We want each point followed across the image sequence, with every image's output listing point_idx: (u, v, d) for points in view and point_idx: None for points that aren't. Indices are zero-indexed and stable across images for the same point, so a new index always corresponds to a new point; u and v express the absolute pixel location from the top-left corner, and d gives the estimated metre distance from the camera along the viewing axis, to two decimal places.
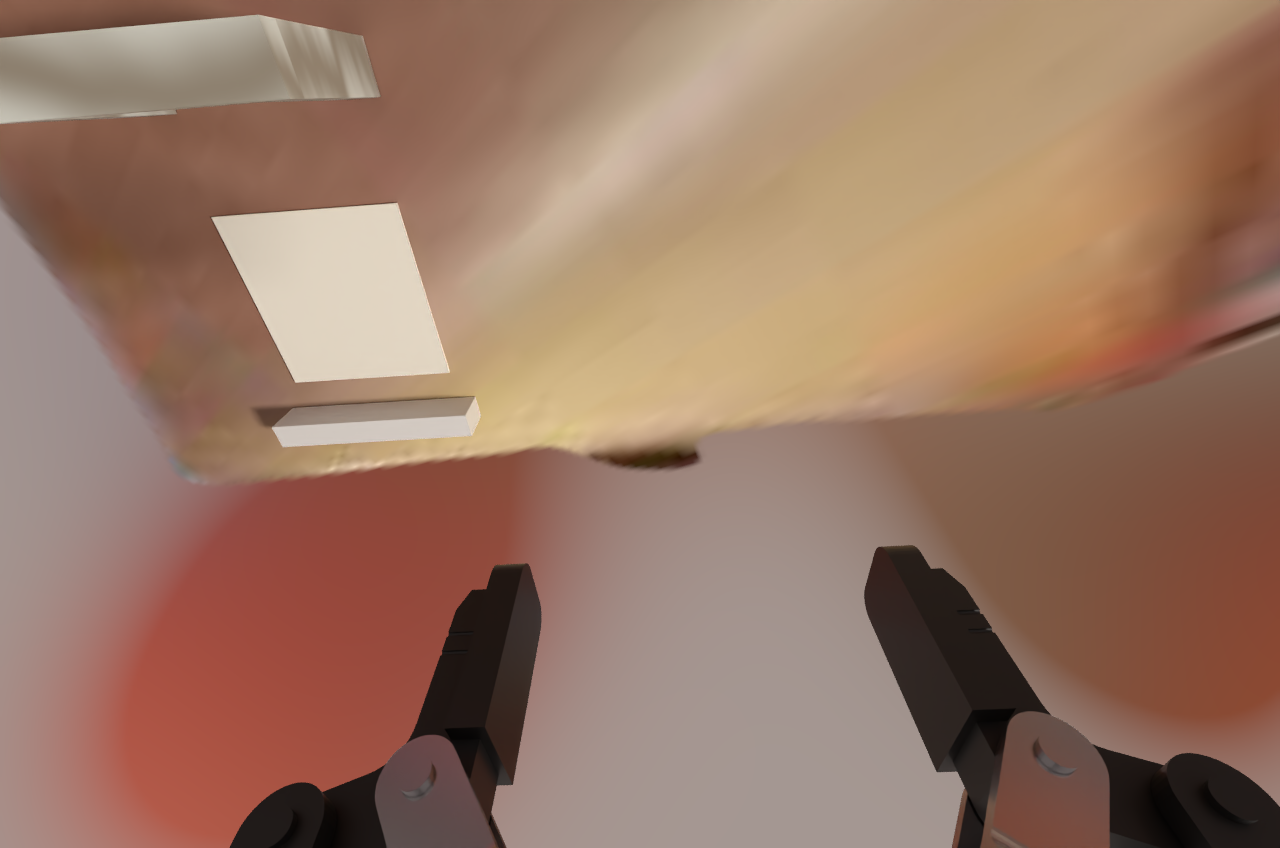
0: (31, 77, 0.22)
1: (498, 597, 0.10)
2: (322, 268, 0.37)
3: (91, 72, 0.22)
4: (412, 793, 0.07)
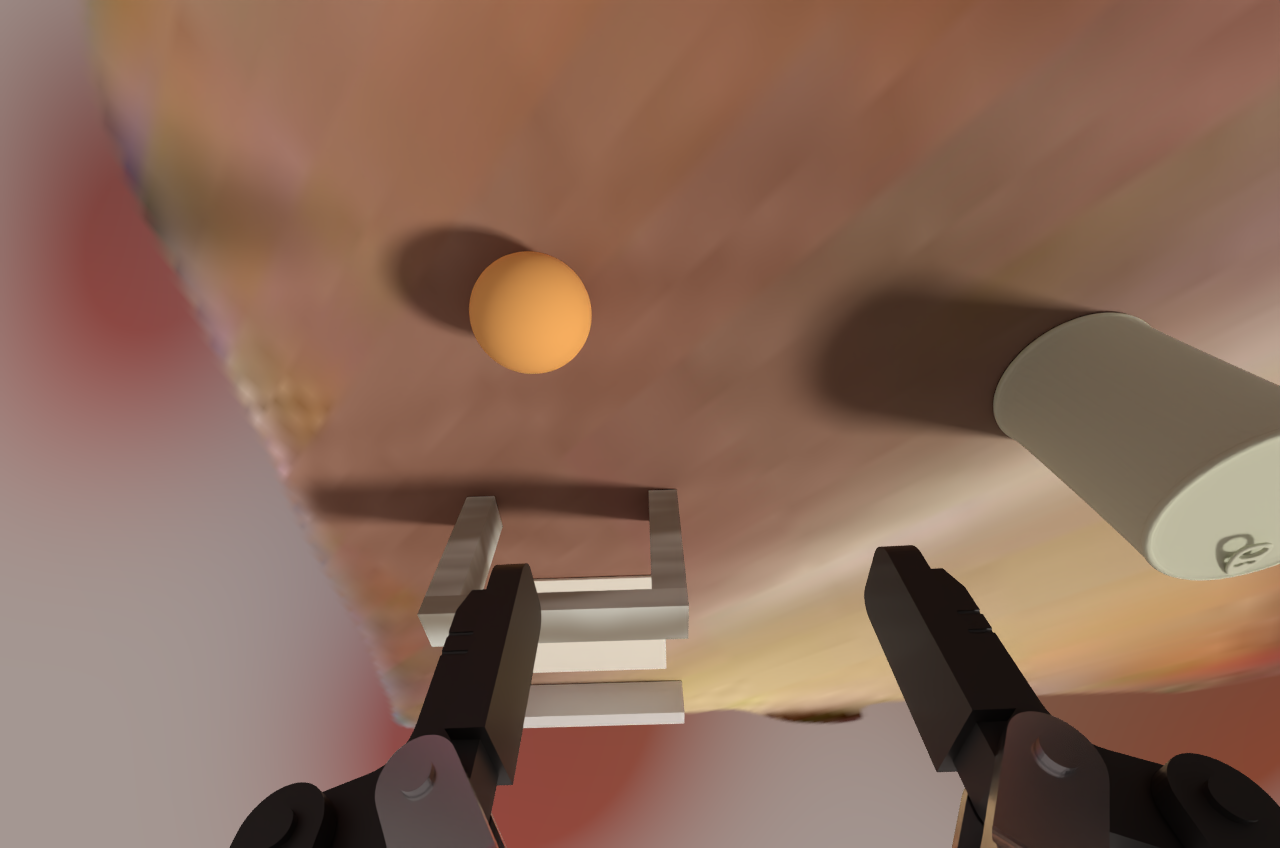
0: None
1: (498, 597, 0.10)
2: None
3: (541, 626, 0.28)
4: (412, 793, 0.07)
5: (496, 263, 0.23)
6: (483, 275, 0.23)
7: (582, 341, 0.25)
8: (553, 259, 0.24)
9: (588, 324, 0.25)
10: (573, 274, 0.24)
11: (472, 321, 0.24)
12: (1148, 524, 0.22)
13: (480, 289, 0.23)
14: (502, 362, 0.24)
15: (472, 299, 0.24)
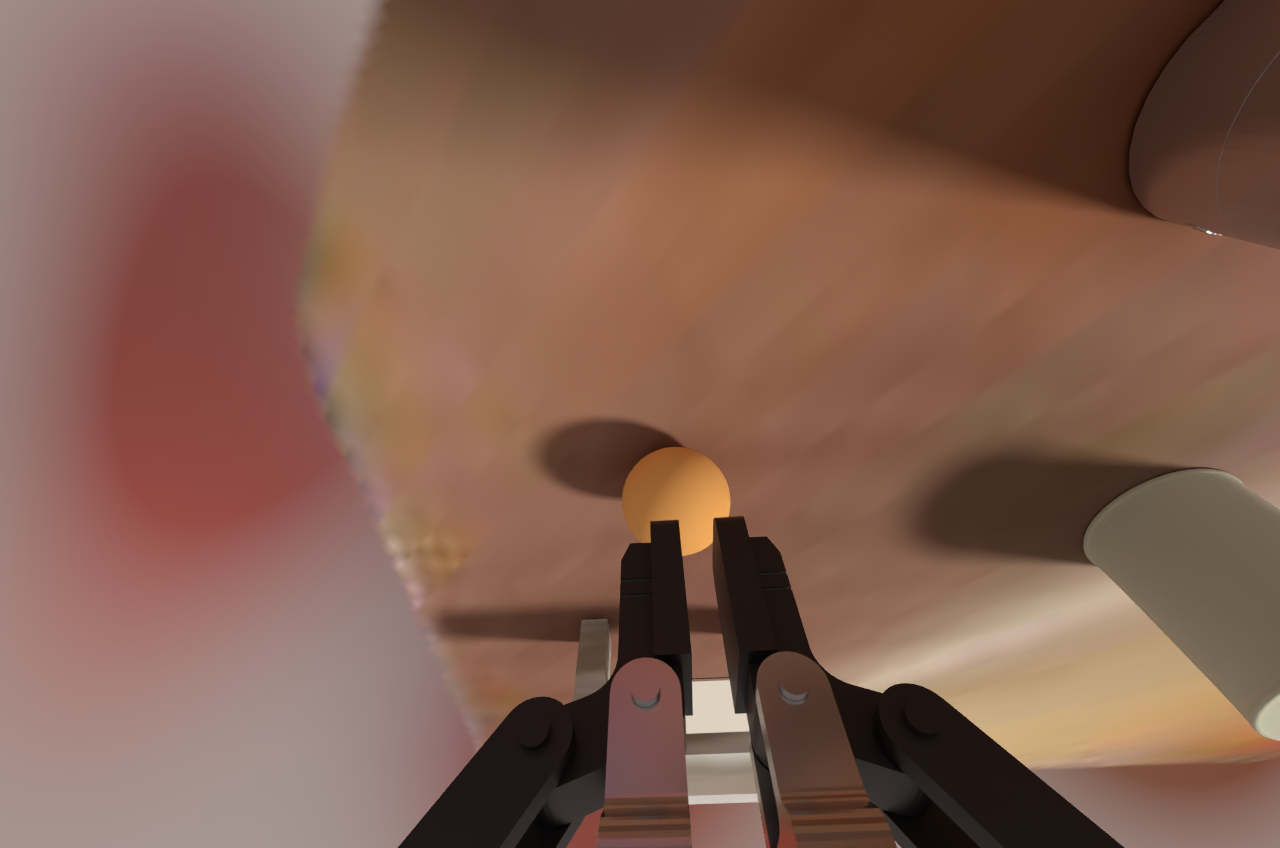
0: None
1: (664, 547, 0.11)
2: None
3: None
4: (647, 705, 0.08)
5: (652, 469, 0.26)
6: (641, 480, 0.26)
7: None
8: (701, 460, 0.27)
9: (729, 511, 0.28)
10: (717, 471, 0.27)
11: (630, 518, 0.27)
12: (1259, 705, 0.24)
13: (641, 496, 0.26)
14: None
15: (631, 501, 0.26)
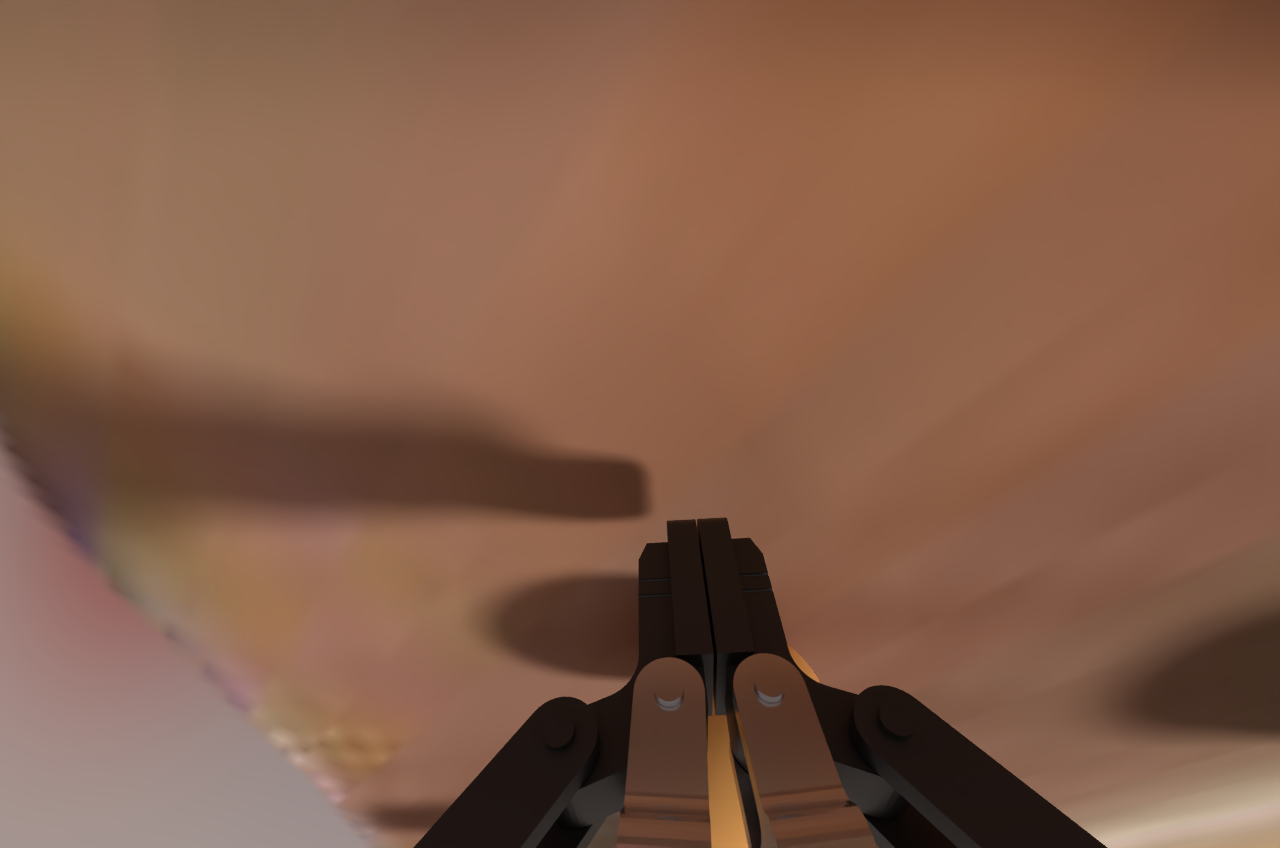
0: None
1: (682, 547, 0.11)
2: None
3: None
4: (672, 706, 0.08)
5: None
6: None
7: None
8: None
9: None
10: None
11: None
12: None
13: None
14: None
15: None
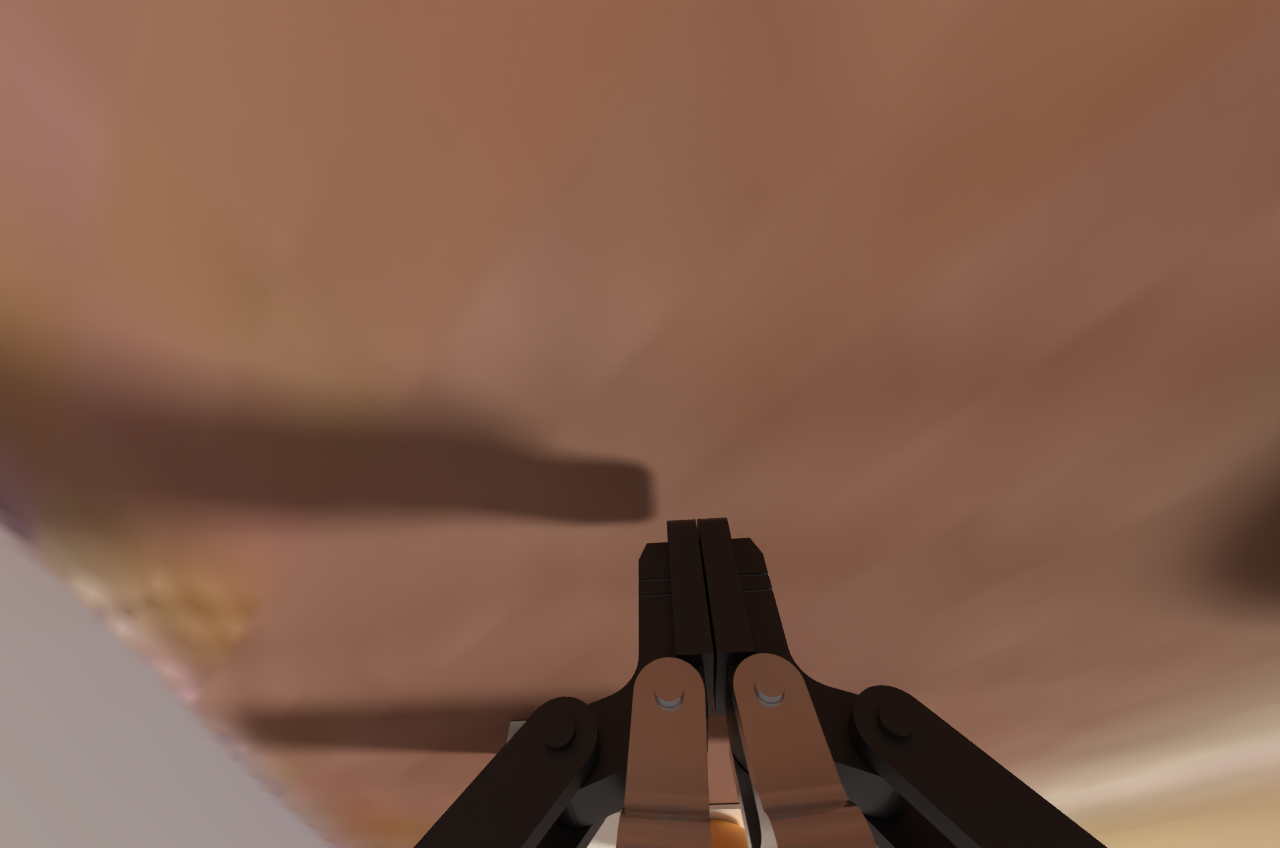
0: None
1: (682, 547, 0.11)
2: None
3: None
4: (672, 705, 0.08)
5: None
6: None
7: None
8: None
9: None
10: None
11: None
12: None
13: None
14: None
15: None
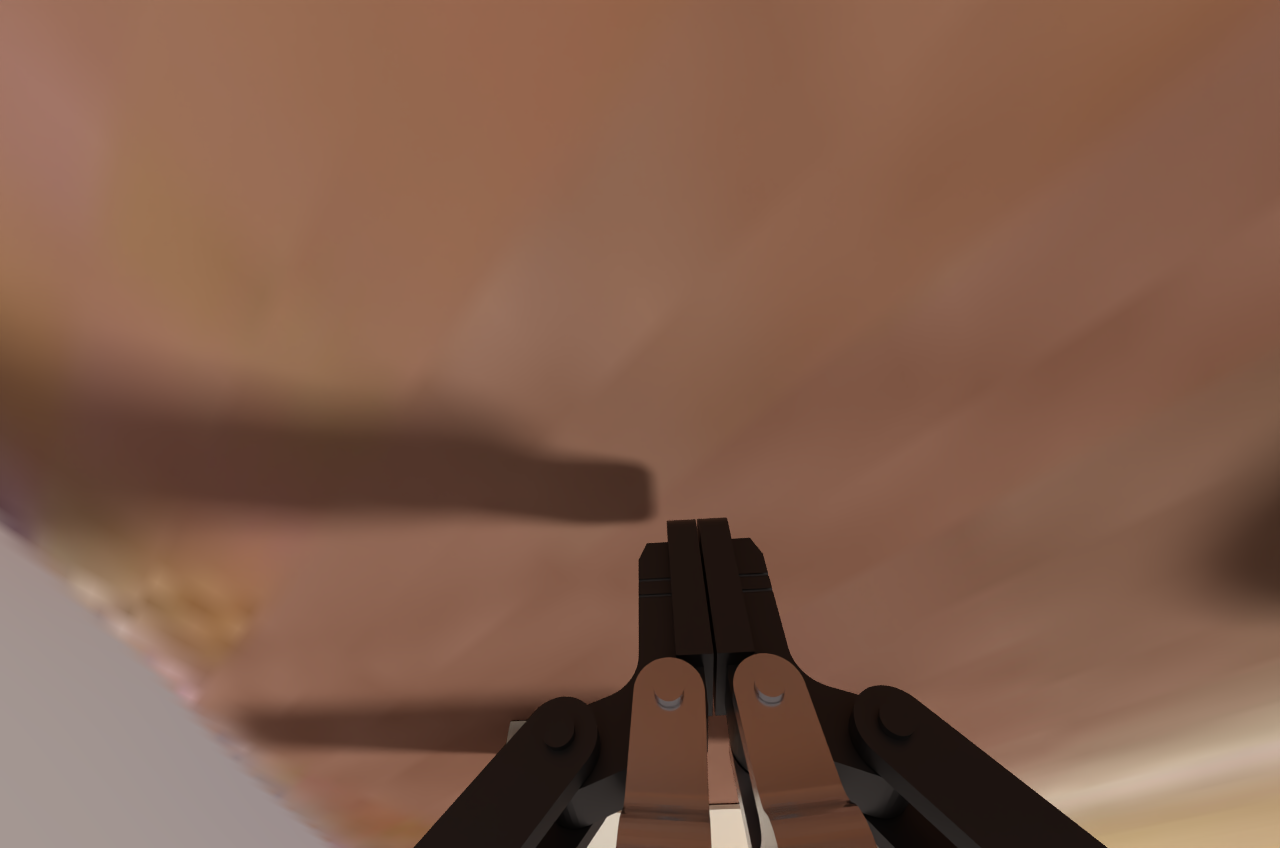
0: None
1: (682, 547, 0.11)
2: None
3: None
4: (672, 705, 0.08)
5: None
6: None
7: None
8: None
9: None
10: None
11: None
12: None
13: None
14: None
15: None
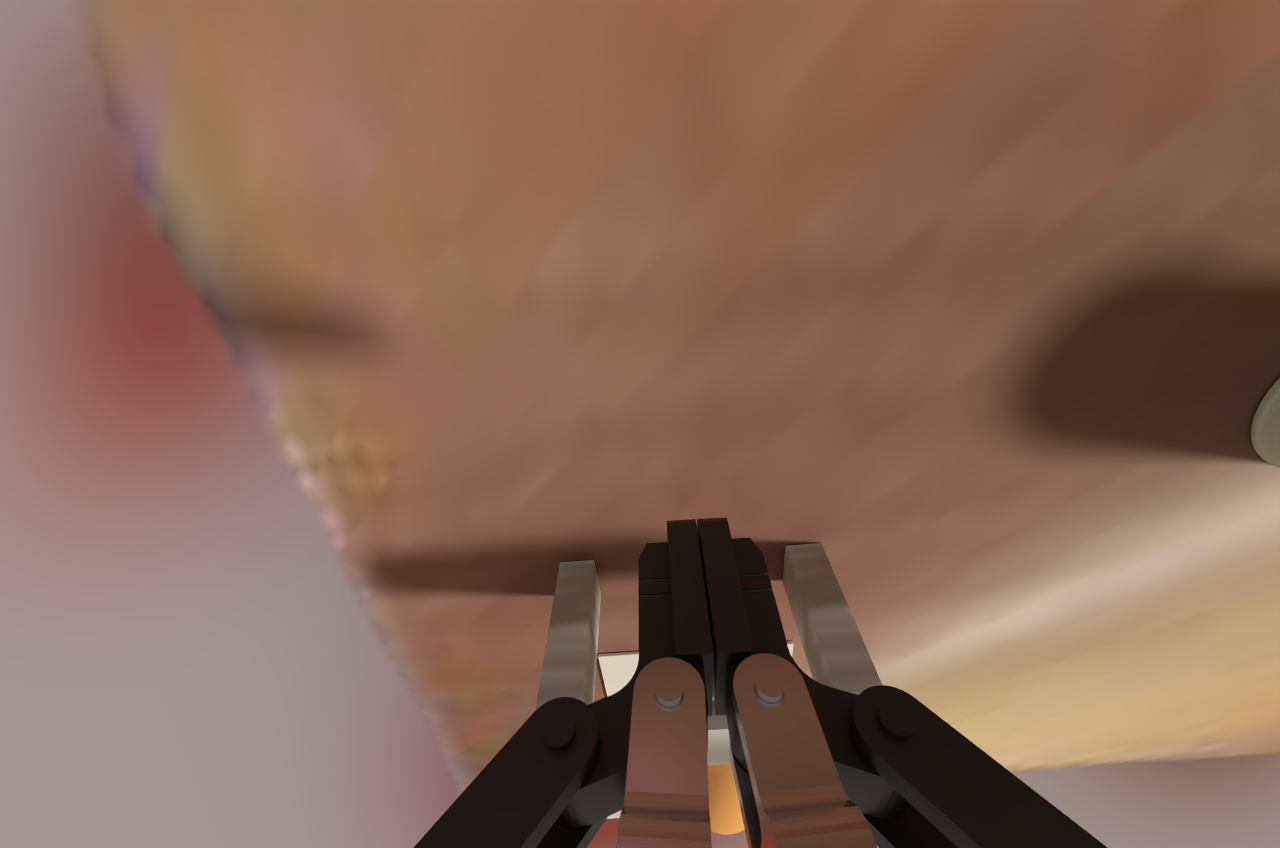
0: None
1: (682, 547, 0.11)
2: None
3: None
4: (672, 705, 0.08)
5: None
6: None
7: None
8: None
9: None
10: None
11: None
12: None
13: None
14: None
15: None
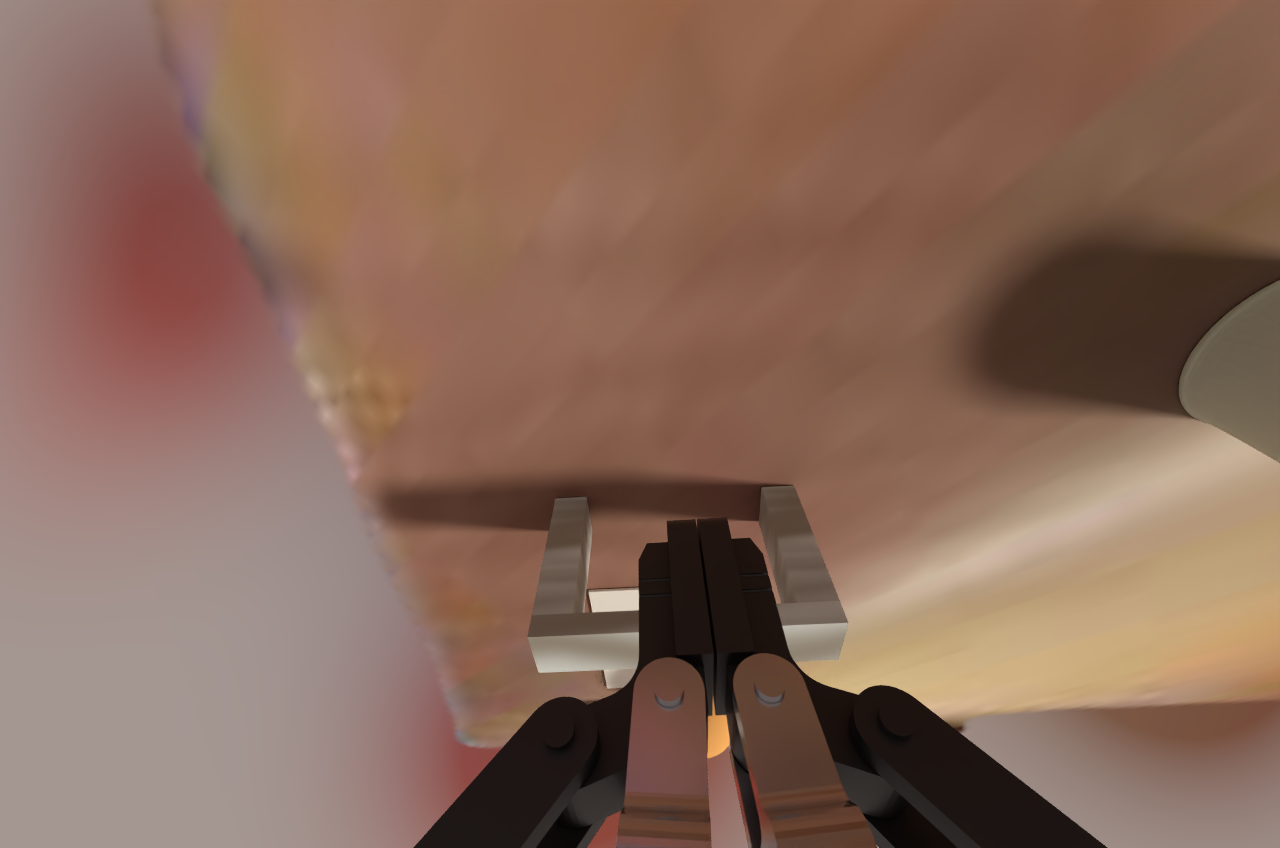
0: (611, 651, 0.24)
1: (682, 547, 0.11)
2: None
3: None
4: (672, 706, 0.08)
5: None
6: None
7: None
8: None
9: None
10: None
11: None
12: None
13: None
14: None
15: None
